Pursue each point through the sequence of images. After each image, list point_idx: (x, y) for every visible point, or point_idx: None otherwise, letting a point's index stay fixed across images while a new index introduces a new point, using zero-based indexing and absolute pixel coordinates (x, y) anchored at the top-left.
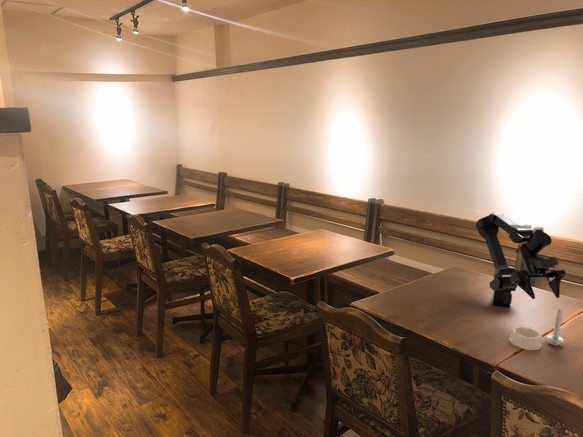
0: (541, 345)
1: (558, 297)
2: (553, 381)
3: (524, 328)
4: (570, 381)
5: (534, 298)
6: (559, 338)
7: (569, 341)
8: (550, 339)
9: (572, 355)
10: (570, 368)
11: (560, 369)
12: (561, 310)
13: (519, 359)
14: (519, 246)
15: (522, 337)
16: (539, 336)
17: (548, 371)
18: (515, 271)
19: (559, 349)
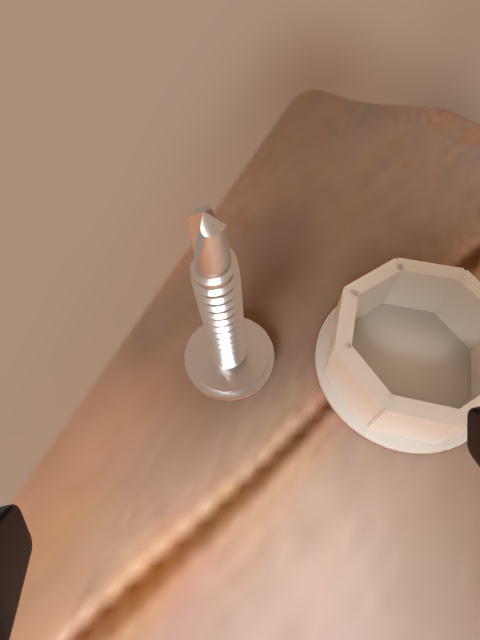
0: (323, 327)
1: (18, 507)
2: (365, 107)
3: (427, 405)
4: (305, 113)
5: (476, 412)
6: (208, 345)
7: (120, 412)
8: (266, 340)
9: None
10: (264, 177)
11: (308, 168)
12: (197, 210)
13: (464, 212)
14: None
15: (467, 272)
16: (357, 288)
17: (362, 152)
18: None
19: None
